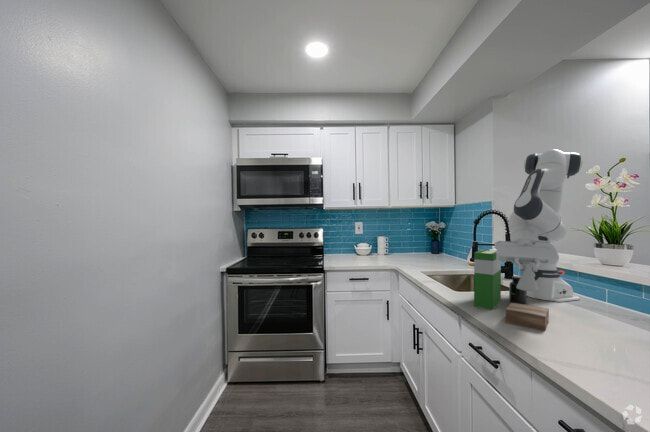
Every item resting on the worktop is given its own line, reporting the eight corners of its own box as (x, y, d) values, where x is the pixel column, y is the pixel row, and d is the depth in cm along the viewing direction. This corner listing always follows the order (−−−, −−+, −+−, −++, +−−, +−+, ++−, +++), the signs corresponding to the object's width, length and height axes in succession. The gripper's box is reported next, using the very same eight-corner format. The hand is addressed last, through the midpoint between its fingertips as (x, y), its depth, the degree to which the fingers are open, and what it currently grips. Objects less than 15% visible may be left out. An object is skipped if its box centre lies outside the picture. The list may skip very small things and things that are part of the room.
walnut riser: (511, 314, 119) (511, 302, 119) (548, 321, 111) (548, 308, 111) (505, 322, 110) (505, 309, 110) (545, 330, 102) (545, 316, 102)
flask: (543, 292, 106) (544, 265, 106) (522, 291, 107) (522, 264, 107) (532, 288, 113) (532, 262, 114) (512, 287, 114) (512, 261, 114)
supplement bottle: (507, 302, 136) (507, 276, 136) (510, 299, 141) (510, 274, 141) (525, 305, 131) (525, 279, 131) (527, 302, 136) (528, 276, 136)
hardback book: (483, 298, 143) (483, 249, 144) (500, 300, 139) (500, 250, 139) (474, 306, 130) (474, 252, 130) (492, 309, 125) (493, 254, 125)
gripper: (494, 236, 121) (496, 262, 112) (555, 238, 112) (563, 267, 103) (493, 245, 125) (495, 272, 116) (552, 248, 116) (559, 277, 107)
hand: (528, 270), depth 110 cm, fingers closed on flask, 3 cm apart
